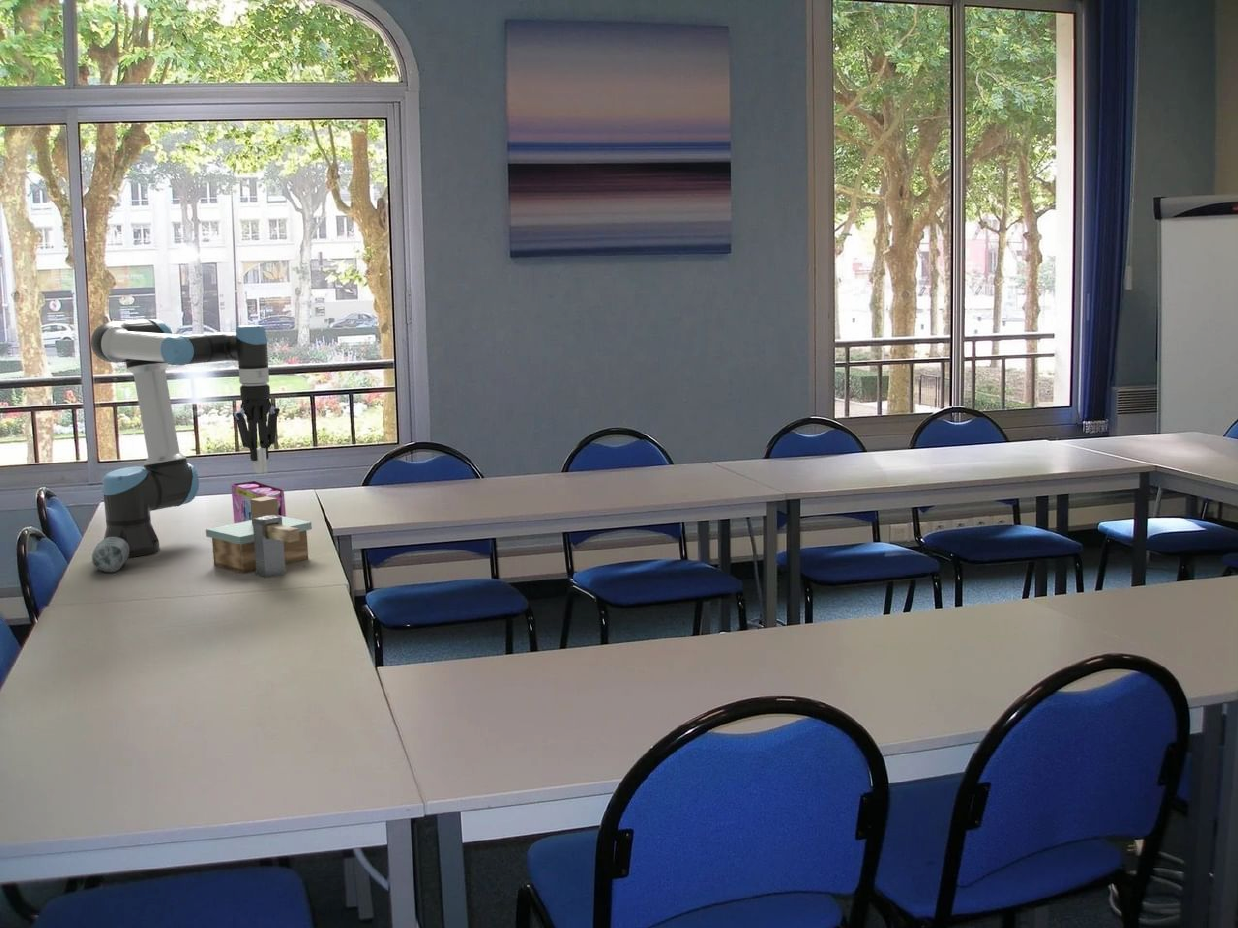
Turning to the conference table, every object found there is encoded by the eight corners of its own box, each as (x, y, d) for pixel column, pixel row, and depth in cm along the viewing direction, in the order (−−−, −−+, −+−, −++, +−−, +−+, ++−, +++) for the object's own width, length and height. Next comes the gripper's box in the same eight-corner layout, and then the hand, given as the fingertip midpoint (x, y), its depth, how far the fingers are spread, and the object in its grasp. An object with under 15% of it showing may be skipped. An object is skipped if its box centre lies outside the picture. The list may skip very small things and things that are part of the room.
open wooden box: (214, 565, 329) (211, 536, 328) (278, 551, 344) (276, 523, 343) (243, 573, 320) (241, 543, 319) (308, 558, 335) (306, 529, 334)
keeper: (256, 575, 317) (252, 518, 315) (276, 571, 322) (272, 514, 319) (265, 578, 315) (261, 520, 312) (285, 573, 319) (281, 516, 317)
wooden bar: (254, 534, 318) (254, 523, 318) (264, 532, 320) (264, 521, 320) (289, 542, 308) (288, 530, 308) (299, 540, 311) (298, 528, 310)
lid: (206, 536, 328) (203, 503, 326) (277, 522, 344) (274, 490, 343) (240, 544, 318) (237, 510, 316) (311, 529, 334) (309, 496, 333)
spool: (129, 561, 322) (110, 528, 322) (95, 580, 320) (76, 547, 321) (144, 561, 335) (126, 530, 335) (112, 579, 334) (94, 547, 334)
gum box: (290, 536, 364) (287, 490, 361) (264, 540, 359) (261, 494, 357) (258, 523, 382) (255, 480, 380) (233, 527, 377) (230, 483, 375)
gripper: (239, 387, 318) (245, 477, 322) (285, 382, 328) (291, 470, 332) (223, 385, 322) (229, 474, 326) (269, 381, 333) (275, 467, 337)
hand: (260, 472), depth 329 cm, fingers closed
